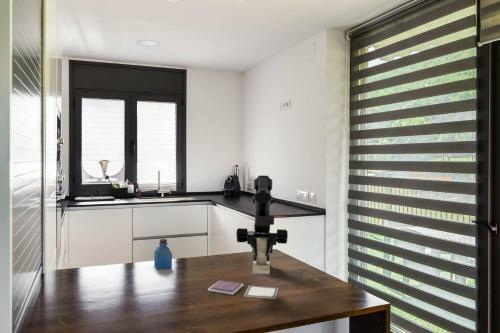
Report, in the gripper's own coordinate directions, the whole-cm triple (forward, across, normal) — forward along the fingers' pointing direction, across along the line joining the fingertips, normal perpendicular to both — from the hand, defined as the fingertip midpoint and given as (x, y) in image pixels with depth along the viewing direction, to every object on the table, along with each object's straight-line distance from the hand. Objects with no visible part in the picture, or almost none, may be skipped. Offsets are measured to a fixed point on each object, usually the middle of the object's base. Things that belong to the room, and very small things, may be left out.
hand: (261, 256), depth 137 cm
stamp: (+4, 0, +6) cm, 7 cm away
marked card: (+9, 0, +10) cm, 13 cm away
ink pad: (+7, -13, +12) cm, 19 cm away
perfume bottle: (-10, -43, +30) cm, 53 cm away
